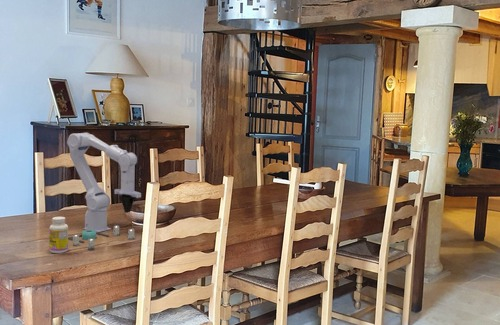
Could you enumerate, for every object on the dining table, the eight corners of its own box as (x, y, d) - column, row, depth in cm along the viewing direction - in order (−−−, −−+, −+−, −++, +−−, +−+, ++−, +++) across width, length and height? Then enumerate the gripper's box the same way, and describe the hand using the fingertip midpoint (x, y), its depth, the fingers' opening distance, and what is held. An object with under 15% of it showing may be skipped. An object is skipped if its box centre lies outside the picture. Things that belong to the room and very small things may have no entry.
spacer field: (71, 245, 210) (71, 235, 210) (116, 234, 230) (116, 225, 229) (90, 250, 204) (90, 240, 204) (135, 238, 224) (135, 229, 223)
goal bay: (67, 239, 219) (67, 237, 219) (94, 233, 231) (94, 231, 231) (82, 243, 214) (82, 241, 214) (109, 236, 226) (109, 235, 225)
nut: (79, 238, 221) (79, 231, 221) (89, 236, 226) (90, 228, 226) (88, 240, 218) (88, 233, 218) (98, 238, 223) (98, 231, 223)
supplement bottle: (46, 250, 202) (46, 217, 200) (63, 247, 206) (63, 215, 205) (54, 254, 197) (54, 220, 196) (71, 251, 202) (71, 218, 200)
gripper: (109, 180, 230) (108, 211, 232) (132, 183, 222) (132, 215, 223) (121, 178, 236) (121, 208, 237) (144, 182, 228) (144, 213, 229)
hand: (127, 212), depth 231 cm, fingers closed
